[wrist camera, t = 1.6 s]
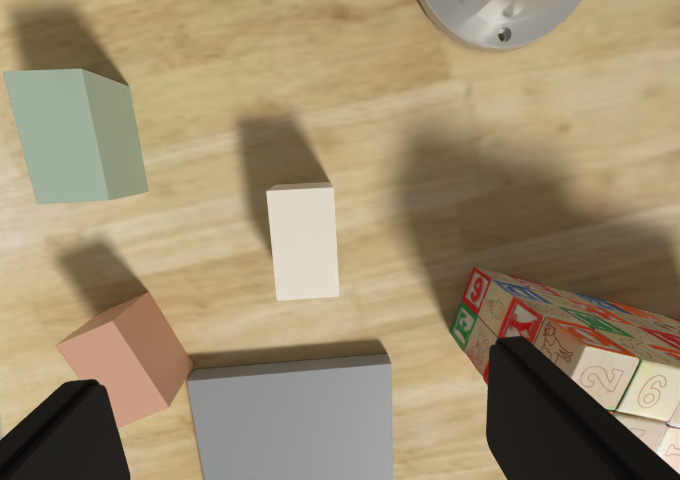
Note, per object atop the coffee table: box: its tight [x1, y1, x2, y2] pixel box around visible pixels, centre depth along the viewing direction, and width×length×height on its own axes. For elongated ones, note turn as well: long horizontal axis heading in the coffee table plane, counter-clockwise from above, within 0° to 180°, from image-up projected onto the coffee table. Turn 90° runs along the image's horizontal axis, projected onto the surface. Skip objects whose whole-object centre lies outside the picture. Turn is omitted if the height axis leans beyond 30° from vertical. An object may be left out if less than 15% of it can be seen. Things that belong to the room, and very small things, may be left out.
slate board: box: [187, 353, 393, 480], centre depth 30 cm, size 14×16×2 cm
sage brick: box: [3, 69, 149, 204], centre depth 21 cm, size 7×4×5 cm, turn 3°
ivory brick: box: [266, 182, 339, 301], centre depth 24 cm, size 7×4×5 cm, turn 3°
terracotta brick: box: [55, 292, 194, 428], centre depth 25 cm, size 7×4×5 cm, turn 23°
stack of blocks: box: [450, 267, 680, 474], centre depth 24 cm, size 21×6×12 cm, turn 75°
